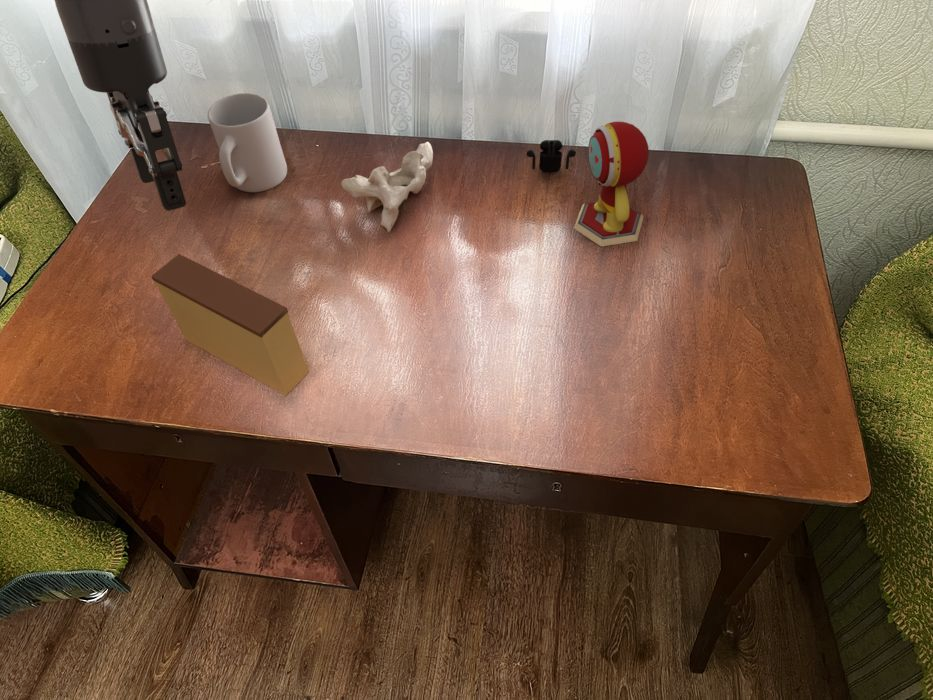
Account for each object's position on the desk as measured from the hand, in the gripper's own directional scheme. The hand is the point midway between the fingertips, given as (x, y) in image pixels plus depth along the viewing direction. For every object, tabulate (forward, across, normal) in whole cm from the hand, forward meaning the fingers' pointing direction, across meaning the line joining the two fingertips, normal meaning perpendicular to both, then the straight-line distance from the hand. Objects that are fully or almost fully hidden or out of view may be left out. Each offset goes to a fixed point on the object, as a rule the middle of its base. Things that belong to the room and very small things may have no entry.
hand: (163, 193), depth 74 cm
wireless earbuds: (+11, +1, +53) cm, 54 cm away
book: (+19, +6, +2) cm, 20 cm away
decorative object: (+13, -6, +30) cm, 33 cm away
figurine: (+14, +15, +52) cm, 56 cm away
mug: (+12, -23, +17) cm, 31 cm away
